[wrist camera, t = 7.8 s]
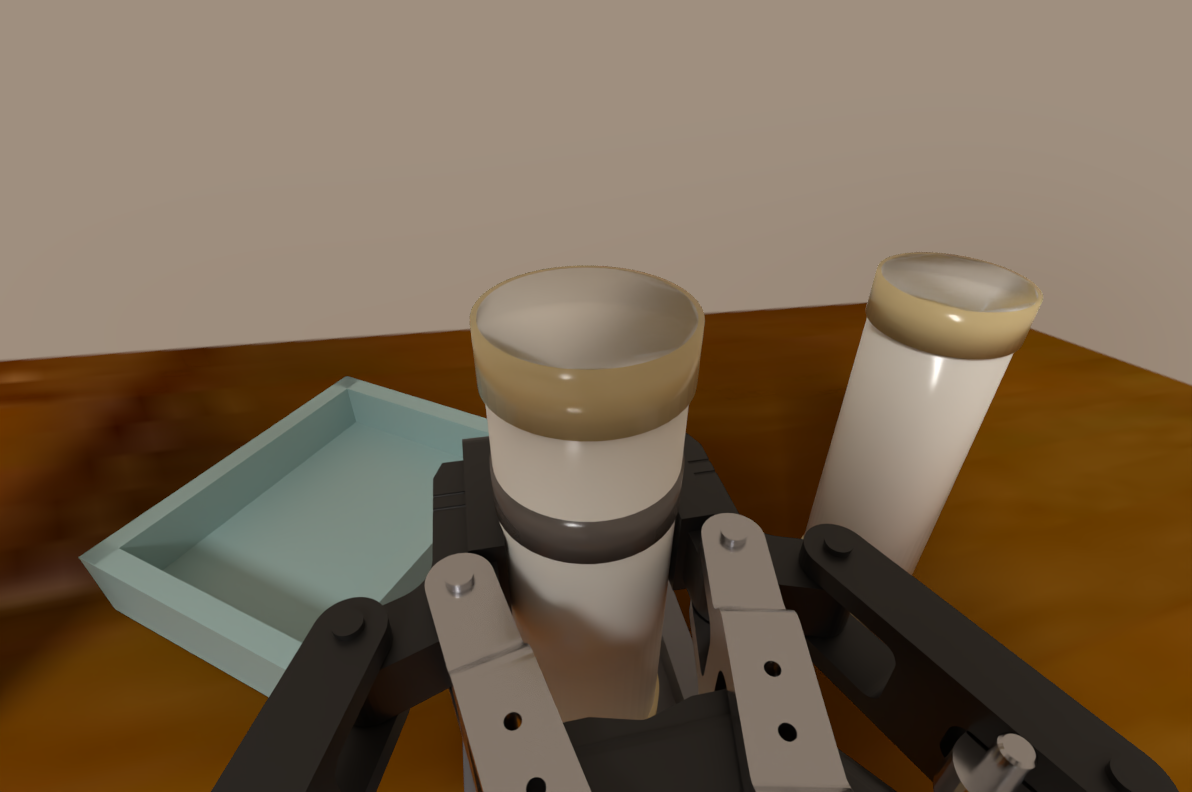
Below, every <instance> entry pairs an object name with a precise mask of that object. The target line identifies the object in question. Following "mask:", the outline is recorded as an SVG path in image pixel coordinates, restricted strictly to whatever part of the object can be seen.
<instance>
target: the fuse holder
mask: <svg viewBox="0 0 1192 792" xmlns="http://www.w3.org/2000/svg"><path fill="white" fill-rule="evenodd" d="M658 679H659V698H658V706H657V714H658V713H660V712H662V711H664V710H666V709H667V708H669V707H671V706H673V705H675V704H677V703H679V702H681V701H683V700H685V699H687V698H689V697H690V696H694V695H699V691H698V679H697V671H696V663H695V655H694V647H693V641H692V638H691V636H690V633H689V630H688V628H687V625H686V623H685V620H684V617H683V615H682V612H681V609H680V607H679V604H678V601H677V599H676V596H675V594H674V591H673V590H672V588H671V585H670V582H669V580H668V587H667V595H666V604H665V612H664V621H663V630H662V638H661V647H660V655H659V664H658ZM463 766H464V792H476V789H475V785H474V781H473V777H472V773H471V769H470V766H469V762H468V758H467V754H466V750H465V746H464V743H463Z"/></svg>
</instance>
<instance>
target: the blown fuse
mask: <svg viewBox="0 0 1192 792" xmlns="http://www.w3.org/2000/svg"><path fill="white" fill-rule="evenodd" d="M704 324H705V318H704V313H703V310H702V307H701V306H700V304H699V303H698V301H697V300H696V299H695V298H694V297H693V296H692V295H691V294H690V293H688V292H687V291H686V290H684V289H683V288H681V287H679V286H678V285H676V284H674V283H672V282H670V281H667V280H665V279H663V278H660V277H657V276H654V275H651V274H647V273H644V272H640V271H635V270H630V269H624V268H616V267H608V266H565V267H555V268H548V269H542V270H538V271H533V272H529V273H525V274H522V275H519V276H516V277H513V278H510V279H508V280H506V281H503V282H501V283H499V284H497V285H496V286H494V287H492V288H491V289H489V290H488V291H486V292H485V293H484V294H483V295H482V296H481V297H480V298H479V299H478V300H477V301H476V302H475V304H474V306H473V307H472V310H471V313H470V329H471V337H472V345H473V354H474V362H475V371H476V379H477V386H478V391H479V394H480V396H481V398H482V400H483V402H484V403H485V405H486V414H487V422H488V431H489V440H490V449H491V452H490V473H491V482H492V490H493V499H494V506H495V511H496V514H497V517H498V519H499V522H500V525H501V528H502V530H503V534H504V543H505V552H506V561H507V570H508V579H509V589H510V598H511V607H512V616H513V619H514V621H515V624H516V626H517V629H518V631H519V633H520V636H521V638H522V640H523V642H524V643H526V642H527V643H528V644H529V645H530V647H531V649H532V651H533V653H534V655H535V657H536V660H537V662H538V665H539V667H540V669H541V672H542V674H543V677H544V679H545V681H546V684H547V686H548V689H549V691H550V693H551V696H552V698H553V701H554V703H555V705H556V708H557V710H558V713H559V715H560V718H561V720H562V722H567V721H572V720H577V719H582V718H587V717H597V718H615V719H632V720H644V719H648V718H650V717H652V716H654V715H656V714H657V706H658V698H659V679H658V664H659V655H660V647H661V638H662V630H663V621H664V612H665V604H666V595H667V587H668V578H669V570H670V561H671V552H672V544H673V535H674V527H675V519H676V516H677V514H678V510H679V505H680V498H681V489H682V481H683V472H684V452H683V449H684V441H685V432H686V424H687V415H688V406H689V403H690V402H691V401H692V399H693V397H694V394H695V392H696V387H697V381H698V373H699V364H700V356H701V348H702V340H703V332H704Z"/></svg>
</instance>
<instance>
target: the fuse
mask: <svg viewBox="0 0 1192 792" xmlns="http://www.w3.org/2000/svg"><path fill="white" fill-rule="evenodd" d="M1042 300H1043V294H1042V292H1041V290H1040V289H1039V288H1038V287H1037V286H1036V285H1035V284H1034V283H1033V282H1031V281H1030V280H1028V279H1027V278H1026V277H1024V276H1022V275H1020V274H1018V273H1016V272H1014V271H1012V270H1009V269H1007V268H1004V267H1002V266H999V265H996V264H993V263H990V262H986V261H982V260H979V259H974V258H970V257H965V256H959V255H952V254H945V253H931V252H915V253H904V254H898V255H894V256H891V257H888V258H886V259H884V260H883V261H881V263H880V264H879V265H878V268H877V271H876V274H875V278H874V281H873V285H872V288H871V292H870V296H869V299H868V302H867V306H866V316H867V320H866V323H865V327H864V330H863V334H862V337H861V341H860V344H859V347H858V351H857V354H856V358H855V361H854V365H853V368H852V372H851V375H850V379H849V382H848V386H847V389H846V392H845V396H844V399H843V403H842V406H841V410H840V413H839V417H838V420H837V424H836V427H835V431H834V434H833V437H832V441H831V444H830V448H829V451H828V455H827V458H826V462H825V465H824V469H823V472H822V476H821V479H820V482H819V486H818V489H817V493H816V496H815V500H814V503H813V507H812V510H811V514H810V517H809V520H808V524H807V527H806V531H805V534H806V532H807V531H808V530H809V529H810V528H811V527H813V526H816V525H819V524H835V525H839V526H843V527H845V528H848V529H850V530H852V531H854V532H855V533H857V534H858V535H859V536H861V537H862V538H863V539H865V540H866V541H867V542H868V543H870V544H871V545H872V546H874V547H875V548H876V549H878V550H879V551H880V552H882V553H883V554H884V555H885V556H887V557H888V558H889V559H891V560H892V561H893V562H895V563H896V564H897V565H899V566H900V567H901V568H903V569H904V570H905V571H906V572H908V573H909V574H910V575H912V574H913V572H914V569H915V567H916V565H917V563H918V561H919V559H920V556H921V554H922V552H923V550H924V548H925V545H926V543H927V541H928V539H929V537H930V534H931V532H932V530H933V528H934V526H935V524H936V521H937V519H938V517H939V515H940V513H941V510H942V508H943V506H944V504H945V502H946V499H947V497H948V495H949V493H950V491H951V489H952V486H953V484H954V482H955V480H956V478H957V475H958V473H959V471H960V469H961V467H962V464H963V462H964V460H965V458H966V456H967V453H968V451H969V449H970V447H971V445H972V443H973V440H974V438H975V436H976V434H977V432H978V429H979V427H980V425H981V423H982V421H983V418H984V416H985V414H986V412H987V410H988V408H989V405H990V403H991V401H992V399H993V397H994V394H995V392H996V390H997V388H998V386H999V383H1000V381H1001V379H1002V377H1003V375H1004V373H1005V370H1006V368H1007V366H1008V364H1009V362H1010V359H1011V357H1012V355H1013V353H1015V352H1016V351H1017V350H1019V349H1020V347H1021V346H1022V344H1023V342H1024V340H1025V338H1026V336H1027V333H1028V331H1029V329H1030V327H1031V325H1032V322H1033V321H1034V318H1035V316H1036V314H1037V312H1038V310H1039V307H1040V305H1041V303H1042ZM805 534H804V536H805ZM804 536H803V537H802V538H801V539H804ZM850 614H851V613H850ZM851 615H852V614H851ZM854 617H855V616H854ZM855 618H856V617H855ZM856 619H857V618H856ZM857 620H858V619H857ZM858 621H859V620H858ZM859 622H860V621H859ZM862 624H863V623H862ZM863 625H864V624H863ZM864 626H865V625H864ZM865 627H866V626H865ZM866 628H867V627H866ZM867 629H868V628H867Z"/></svg>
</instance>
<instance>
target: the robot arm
mask: <svg viewBox="0 0 1192 792" xmlns="http://www.w3.org/2000/svg"><path fill="white" fill-rule="evenodd" d="M462 449H463V460H461V461H453V462H445V463H442V464H441V466H440V467H439V469H438V471H437V473H436V474H435V476H434V478H433V546H432V566H431V569H430V571H429V572H428V574H427V576H426V578H425V580H424V581H423V582H422V583H421V584H420V585H419V586H418V587H417V588H416V589H414V590H413V591H411V592H410V593H408V594H406V595H404V596H402V597H400V598H398V599H396V600H393V601H391V602H389V603H387V604H384V605H382V604H381V603H379V602H378V601H376V600H374V599H372V598H367V597H353V598H349V599H345V600H342V601H340V602H338V603H336V604H334V605H332V606H331V607H329V608H328V609H327V610H325V611H324V612H323V613H322V614H321V615H320V616H319V617H318V619H317V620H316V621H315V623H314V624H313V626H312V628H311V629H310V631H309V633H308V634H307V636H306V638H305V639H304V641H303V642H302V644H301V646H300V647H299V649H298V651H297V652H296V654H295V656H294V657H293V659H292V660H291V662H290V664H289V665H288V667H287V669H286V670H285V672H284V673H283V675H282V677H281V678H280V680H279V682H278V683H277V685H276V687H275V688H274V690H273V691H272V693H271V695H270V696H269V698H268V700H267V701H266V703H265V705H264V706H263V708H262V709H261V711H260V713H259V714H258V716H257V718H256V719H255V721H254V722H253V724H252V726H251V727H250V729H249V731H248V732H247V734H246V736H245V737H244V739H243V740H242V742H241V744H240V745H239V747H238V749H237V750H236V752H235V753H234V755H233V757H232V758H231V760H230V762H229V763H228V765H227V767H226V768H225V770H224V771H223V773H222V775H221V776H220V778H219V780H218V781H217V783H216V785H215V786H214V788H213V789H212V791H211V792H376V791H377V788H378V786H379V784H380V781H381V779H382V776H383V774H384V771H385V769H386V767H387V764H388V762H389V759H390V757H391V754H392V752H393V749H394V747H395V745H396V742H397V740H398V737H399V735H400V732H401V730H402V728H403V725H404V723H405V720H406V718H407V715H408V713H409V710H410V708H411V707H413V706H415V705H417V704H419V703H421V702H423V701H425V700H426V699H428V698H430V697H432V696H434V695H436V694H438V693H440V692H442V691H444V690H445V689H447V688H448V689H449V692H450V696H451V699H452V703H453V707H454V710H455V714H456V717H457V721H458V725H459V728H460V732H461V735H462V739H463V743H464V746H465V750H466V754H467V758H468V762H469V766H470V769H471V773H472V777H473V781H474V785H475V789H476V792H896V791H895V790H894V789H892V788H891V787H890V786H888V785H887V784H886V783H884V782H883V781H881V780H880V779H879V778H877V777H876V776H875V775H873V774H872V773H871V772H869V771H868V770H866V769H865V768H864V767H862V766H861V765H860V764H858V763H857V762H856V761H854V760H853V759H851V758H850V757H849V756H847V755H846V754H845V753H843V752H842V751H841V750H839V749H838V748H837V745H836V742H835V739H834V735H833V732H832V728H831V725H830V722H829V718H828V715H827V711H826V708H825V705H824V701H823V698H822V694H821V691H820V688H819V684H818V681H817V677H816V674H815V671H814V667H813V664H812V662H813V663H814V664H815V665H816V666H817V667H818V668H819V669H820V670H821V671H822V672H823V673H824V674H825V675H826V676H827V677H828V678H829V679H830V680H831V681H832V682H833V683H834V684H835V685H836V686H837V687H838V688H839V689H840V690H841V691H842V692H843V693H844V694H845V695H846V696H847V697H848V698H849V699H850V700H851V701H852V702H853V703H854V704H855V705H856V706H857V707H858V708H859V709H860V710H861V711H862V712H863V713H864V714H865V715H866V716H867V717H868V718H869V719H870V720H871V721H872V722H873V723H874V724H875V725H876V726H877V727H878V728H879V729H880V730H881V731H882V732H883V733H884V734H885V735H886V736H887V737H888V738H889V739H890V740H891V741H892V742H893V743H894V744H895V745H896V746H897V747H898V748H899V749H900V750H901V751H902V752H903V753H904V754H905V755H906V756H907V757H908V758H909V759H910V760H911V761H912V762H913V763H914V764H915V765H916V766H917V767H918V768H919V769H920V770H921V771H922V772H923V773H924V774H925V775H926V776H927V777H928V778H929V779H930V780H931V781H932V782H933V789H934V792H1179V791H1178V790H1177V788H1176V786H1175V784H1174V783H1173V782H1172V780H1171V779H1170V777H1169V776H1168V775H1167V774H1166V773H1165V771H1164V770H1163V769H1162V768H1161V767H1160V766H1159V765H1158V764H1157V763H1156V762H1155V761H1154V760H1152V759H1151V758H1150V757H1149V756H1147V755H1146V754H1145V753H1144V752H1142V751H1141V750H1140V749H1138V748H1137V747H1136V746H1134V745H1133V744H1132V743H1130V742H1129V741H1128V740H1127V739H1125V738H1124V737H1123V736H1121V735H1120V734H1119V733H1117V732H1116V731H1115V730H1113V729H1112V728H1111V727H1110V726H1108V725H1107V724H1106V723H1104V722H1103V721H1102V720H1100V719H1099V718H1098V717H1096V716H1095V715H1094V714H1092V713H1091V712H1090V711H1089V710H1087V709H1086V708H1085V707H1083V706H1082V705H1081V704H1079V703H1078V702H1077V701H1075V700H1074V699H1073V698H1072V697H1070V696H1069V695H1068V694H1066V693H1065V692H1064V691H1062V690H1061V689H1060V688H1058V687H1057V686H1056V685H1055V684H1053V683H1052V682H1051V681H1049V680H1048V679H1047V678H1045V677H1044V676H1043V675H1041V674H1040V673H1039V672H1037V671H1036V670H1035V669H1034V668H1032V667H1031V666H1030V665H1028V664H1027V663H1026V662H1024V661H1023V660H1022V659H1020V658H1019V657H1018V656H1017V655H1015V654H1014V653H1013V652H1011V651H1010V650H1009V649H1007V648H1006V647H1005V646H1003V645H1002V644H1001V643H999V642H998V641H997V640H996V639H994V638H993V637H992V636H990V635H989V634H988V633H986V632H985V631H984V630H982V629H981V628H980V627H979V626H977V625H976V624H975V623H973V622H972V621H971V620H969V619H968V618H967V617H965V616H964V615H963V614H961V613H960V612H959V611H958V610H956V609H955V608H954V607H952V606H951V605H950V604H948V603H947V602H946V601H944V600H943V599H942V598H941V597H939V596H938V595H937V594H935V593H934V592H933V591H931V590H930V589H929V588H927V587H926V586H925V585H923V584H922V583H921V582H920V581H918V580H917V579H916V578H914V577H913V576H912V575H910V574H909V573H908V572H906V571H905V570H904V569H903V568H901V567H900V566H899V565H897V564H896V563H895V562H893V561H892V560H891V559H889V558H888V557H887V556H885V555H884V554H883V553H882V552H880V551H879V550H878V549H876V548H875V547H874V546H872V545H871V544H870V543H868V542H867V541H866V540H865V539H863V538H862V537H861V536H859V535H858V534H857V533H855V532H854V531H852V530H850V529H848V528H845V527H843V526H839V525H835V524H819V525H816V526H813V527H811V528H810V529H809V530H808V531H807V532H806V534H805V536H804V539H797V538H788V537H779V536H773V535H769V534H765V533H763V531H762V529H761V528H760V527H759V526H758V525H757V524H756V523H755V522H754V521H752V520H751V519H749V518H747V517H745V516H742V515H740V514H739V513H738V511H737V509H736V507H735V506H734V504H733V502H732V500H731V498H730V496H729V495H728V493H727V491H726V489H725V487H724V486H723V484H722V482H721V480H720V478H719V477H718V475H717V473H715V469H714V467H713V466H712V464H711V462H710V461H709V458H708V457H707V455H706V453H705V451H704V449H703V448H702V446H701V444H700V443H698V442H697V441H696V440H695V439H693V438H692V437H691V436H690V435H688V434H687V433H685V441H684V449H683V452H684V472H683V481H682V489H681V498H680V505H679V510H678V514H677V516H676V519H675V527H674V535H673V544H672V552H671V561H670V570H669V578H668V580H669V582H670V585H671V588H672V590H673V591H674V590H680V589H686V588H687V591H688V593H689V596H690V598H691V601H690V608H689V616H690V624H691V632H692V639H693V647H694V655H695V663H696V671H697V679H698V691H699V695H694V696H690V697H689V698H687V699H685V700H683V701H681V702H679V703H677V704H675V705H673V706H671V707H669V708H667V709H666V710H664V711H662V712H660V713H658V714H656V715H654V716H652V717H650V718H648V719H644V720H632V719H615V718H597V717H587V718H582V719H577V720H572V721H567V722H562V720H561V718H560V715H559V713H558V710H557V708H556V705H555V703H554V701H553V698H552V696H551V693H550V691H549V689H548V686H547V684H546V681H545V679H544V677H543V674H542V672H541V669H540V667H539V665H538V662H537V660H536V657H535V655H534V653H533V651H532V649H531V647H530V645H529V644H528V643H527V642H526V643H524V642H523V640H522V638H521V636H520V633H519V631H518V629H517V626H516V624H515V621H514V619H513V616H512V607H511V598H510V589H509V579H508V570H507V561H506V552H505V543H504V534H503V530H502V528H501V525H500V522H499V519H498V517H497V514H496V511H495V506H494V499H493V490H492V482H491V473H490V452H491V449H490V440H489V436H485V437H476V438H468V439H462ZM850 613H851V614H852V615H851V614H850ZM854 616H855V617H856V618H857V619H858V620H859V621H860V622H859V621H858V620H857V619H856V618H855V617H854ZM862 623H863V624H864V625H865V626H866V627H867V628H868V629H867V628H866V627H865V626H864V625H863V624H862ZM870 630H871V631H872V632H873V633H874V634H875V635H876V636H875V635H874V634H873V633H872V632H871V631H870ZM878 637H879V638H880V639H881V640H882V641H883V642H884V643H883V642H882V641H881V640H880V639H879V638H878Z"/></svg>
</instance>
